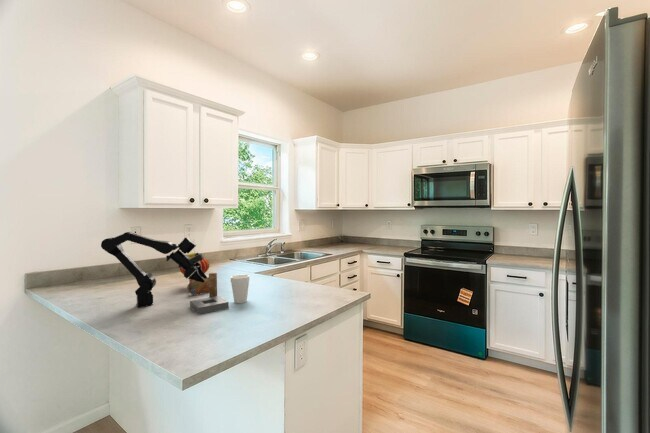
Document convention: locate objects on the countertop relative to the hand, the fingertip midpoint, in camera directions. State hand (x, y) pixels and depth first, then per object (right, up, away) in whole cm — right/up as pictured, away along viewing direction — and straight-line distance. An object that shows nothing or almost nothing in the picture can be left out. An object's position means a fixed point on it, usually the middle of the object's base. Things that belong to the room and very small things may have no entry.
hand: (205, 279), depth 164 cm
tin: (-8, -11, +15) cm, 20 cm away
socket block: (+7, -11, -12) cm, 17 cm away
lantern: (-18, -10, +31) cm, 37 cm away
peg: (+4, -11, +1) cm, 11 cm away
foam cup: (+19, -11, -2) cm, 22 cm away
